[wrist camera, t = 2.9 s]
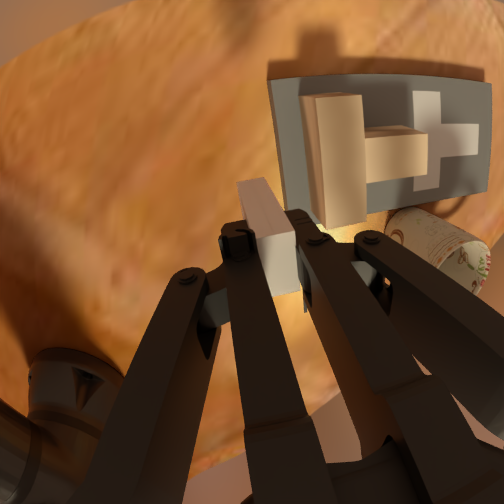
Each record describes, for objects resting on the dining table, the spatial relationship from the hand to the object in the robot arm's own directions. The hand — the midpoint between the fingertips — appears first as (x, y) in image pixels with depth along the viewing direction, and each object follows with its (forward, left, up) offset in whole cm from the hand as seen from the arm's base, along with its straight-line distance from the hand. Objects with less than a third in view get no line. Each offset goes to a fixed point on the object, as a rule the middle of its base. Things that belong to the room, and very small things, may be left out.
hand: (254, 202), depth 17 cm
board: (+16, 0, -10) cm, 19 cm away
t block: (+10, 0, -9) cm, 13 cm away
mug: (+19, -11, -10) cm, 24 cm away
